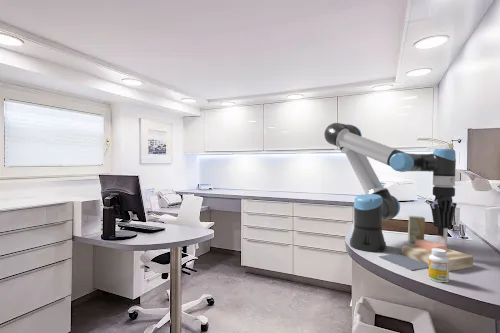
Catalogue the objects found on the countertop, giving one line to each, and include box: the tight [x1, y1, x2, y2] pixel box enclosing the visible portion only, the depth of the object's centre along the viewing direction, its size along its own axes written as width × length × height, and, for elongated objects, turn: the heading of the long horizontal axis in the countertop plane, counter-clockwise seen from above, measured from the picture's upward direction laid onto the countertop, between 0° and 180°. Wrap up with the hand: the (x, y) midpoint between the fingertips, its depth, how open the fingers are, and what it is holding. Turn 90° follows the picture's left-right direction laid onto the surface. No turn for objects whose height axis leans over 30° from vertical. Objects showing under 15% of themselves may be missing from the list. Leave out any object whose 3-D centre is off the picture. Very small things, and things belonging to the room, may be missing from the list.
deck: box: [401, 243, 474, 272], centre depth 107 cm, size 18×14×4 cm
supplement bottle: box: [428, 248, 450, 283], centre depth 89 cm, size 5×5×10 cm
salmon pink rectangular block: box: [414, 239, 448, 251], centre depth 110 cm, size 9×6×2 cm, turn 20°
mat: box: [378, 253, 429, 271], centre depth 105 cm, size 15×10×1 cm
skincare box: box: [407, 215, 426, 243], centre depth 133 cm, size 6×4×12 cm
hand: (442, 243), depth 112 cm, fingers closed
